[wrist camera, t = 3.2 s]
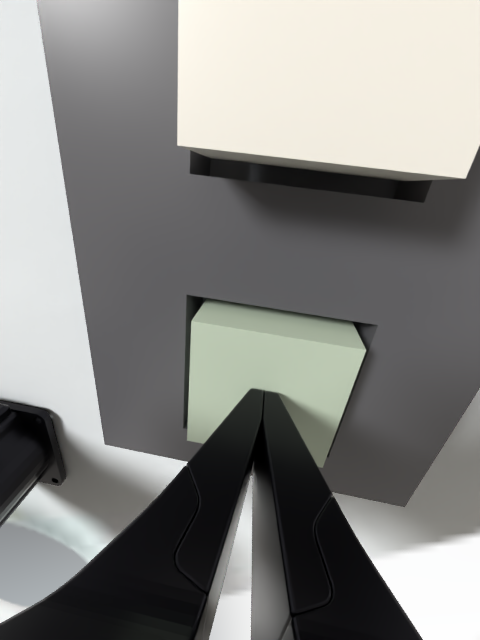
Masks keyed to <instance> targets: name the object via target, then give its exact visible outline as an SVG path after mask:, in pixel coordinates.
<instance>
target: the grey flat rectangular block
mask: <svg viewBox="0 0 480 640" xmlns="http://www.w3.org/2000/svg"><path fill="white" fill-rule="evenodd" d="M37 6H38V13H39V19H40V26H41V32H42V39H43V45H44V52H45V58H46V65H47V71H48V78H49V84H50V91H51V97H52V104H53V110H54V117H55V123H56V130H57V136H58V143H59V149H60V156H61V162H62V169H63V175H64V182H65V188H66V195H67V202H68V208H69V215H70V221H71V228H72V234H73V241H74V247H75V254H76V260H77V267H78V273H79V280H80V286H81V293H82V299H83V306H84V312H85V319H86V325H87V332H88V338H89V345H90V351H91V358H92V364H93V371H94V377H95V384H96V390H97V397H98V403H99V410H100V416H101V423H102V429H103V436H104V442H105V445H110V446H115V447H120V448H125V449H129V450H134V451H139V452H144V453H149V454H153V455H158V456H163V457H168V458H173V459H177V460H182V461H187V462H189V461H190V459H191V458H192V457H193V456H194V455H195V454H196V452H197V451H198V450H199V449H200V448H201V446H202V445H203V444H202V443H197V442H192V441H187V428H188V400H189V373H190V345H191V321H192V319H193V318H194V316H195V315H196V314H197V312H198V311H199V309H200V308H201V306H202V305H203V303H204V302H205V301H206V299H207V298H211V299H217V300H224V301H230V302H236V303H242V304H249V305H255V306H261V307H268V308H274V309H280V310H286V311H293V312H299V313H305V314H312V315H318V316H324V317H330V318H337V319H343V320H349V321H352V322H353V324H354V326H355V328H356V330H357V333H358V335H359V337H360V339H361V341H362V343H363V345H364V347H365V349H366V352H365V355H364V358H363V360H362V363H361V366H360V368H359V371H358V374H357V377H356V379H355V382H354V385H353V387H352V390H351V393H350V395H349V398H348V401H347V404H346V406H345V409H344V412H343V414H342V417H341V420H340V422H339V425H338V428H337V431H336V433H335V436H334V439H333V441H332V444H331V447H330V449H329V452H328V455H327V458H326V460H325V463H324V466H323V468H321V467H318V468H319V470H320V472H321V474H322V475H323V477H324V479H325V481H326V483H327V485H328V487H329V488H330V490H331V492H335V493H340V494H345V495H350V496H355V497H359V498H364V499H369V500H374V501H379V502H383V503H388V504H393V505H398V506H403V507H405V506H406V504H407V502H408V501H409V499H410V498H411V496H412V494H413V493H414V491H415V490H416V488H417V487H418V485H419V483H420V482H421V480H422V479H423V477H424V475H425V474H426V472H427V471H428V469H429V468H430V466H431V464H432V463H433V461H434V460H435V458H436V456H437V455H438V453H439V452H440V450H441V449H442V447H443V445H444V444H445V442H446V441H447V439H448V437H449V436H450V434H451V433H452V431H453V430H454V428H455V426H456V425H457V423H458V422H459V420H460V418H461V417H462V415H463V414H464V412H465V410H466V409H467V407H468V406H469V404H470V403H471V401H472V399H473V398H474V396H475V395H476V393H477V391H478V390H479V388H480V146H479V148H478V150H477V153H476V155H475V158H474V160H473V162H472V165H471V167H470V169H469V172H468V174H467V177H466V179H445V180H420V181H399V180H390V179H382V178H373V177H365V176H356V175H348V174H339V173H331V172H322V171H314V170H305V169H297V168H288V167H280V166H272V165H263V164H255V163H246V162H238V161H229V160H221V159H212V158H209V157H207V156H204V155H201V154H199V153H196V152H193V151H191V150H188V149H185V148H183V147H180V146H177V112H178V0H37ZM253 464H254V462H253ZM251 475H253V467H252V472H251Z"/></svg>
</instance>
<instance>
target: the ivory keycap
mask: <svg viewBox="0 0 480 640" xmlns="http://www.w3.org/2000/svg"><path fill="white" fill-rule="evenodd" d="M177 146H180V147H183V148H185V149H188V150H191V151H193V152H196V153H199V154H201V155H204V156H207V157H209V158H212V159H221V160H229V161H238V162H246V163H255V164H263V165H272V166H280V167H288V168H297V169H305V170H314V171H322V172H331V173H339V174H348V175H356V176H365V177H373V178H382V179H390V180H399V181H420V180H445V179H466V177H467V174H468V172H469V169H470V167H471V165H472V162H473V160H474V158H475V155H476V153H477V150H478V148H479V146H480V0H178V112H177Z"/></svg>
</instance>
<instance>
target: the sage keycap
mask: <svg viewBox="0 0 480 640" xmlns="http://www.w3.org/2000/svg"><path fill="white" fill-rule="evenodd" d="M365 352H366V349H365V347H364V345H363V343H362V341H361V339H360V337H359V335H358V333H357V330H356V328H355V326H354V324H353V322H352V321H349V320H343V319H337V318H330V317H324V316H318V315H312V314H305V313H299V312H293V311H286V310H280V309H274V308H268V307H261V306H255V305H249V304H242V303H236V302H230V301H224V300H217V299H211V298H207V299H206V301H205V302H204V303H203V305H202V306H201V308H200V309H199V311H198V312H197V314H196V315H195V316H194V318H193V319H192V321H191V345H190V373H189V400H188V428H187V441H192V442H197V443H202V444H204V443H205V442H206V440H207V439H208V438H209V437H210V436H211V434H212V433H213V432H214V431H215V430H216V429H217V427H218V426H219V425H220V424H221V423H222V421H223V420H224V419H225V418H226V417H227V415H228V414H229V413H230V412H231V411H232V409H233V408H234V407H235V406H236V405H237V404H238V402H239V401H240V400H241V399H242V398H243V396H244V395H245V394H246V393H247V392H248V390H249V389H251V388H254V389H260V390H263V391H264V392H265V391H271V392H276V393H278V394H279V395H280V397H281V399H282V401H283V403H284V405H285V406H286V408H287V410H288V412H289V414H290V416H291V418H292V420H293V421H294V423H295V425H296V427H297V429H298V431H299V433H300V434H301V436H302V438H303V440H304V442H305V444H306V446H307V447H308V449H309V451H310V453H311V455H312V457H313V459H314V461H315V462H316V464H317V466H318V467H321V468H323V466H324V463H325V460H326V458H327V455H328V452H329V449H330V447H331V444H332V441H333V439H334V436H335V433H336V431H337V428H338V425H339V422H340V420H341V417H342V414H343V412H344V409H345V406H346V404H347V401H348V398H349V395H350V393H351V390H352V387H353V385H354V382H355V379H356V377H357V374H358V371H359V368H360V366H361V363H362V360H363V358H364V355H365Z"/></svg>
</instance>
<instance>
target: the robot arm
mask: <svg viewBox="0 0 480 640" xmlns="http://www.w3.org/2000/svg"><path fill="white" fill-rule="evenodd" d="M253 462H254V464H253ZM252 467H253V504H252V594H251V640H423V639H422V638H421V636H420V635H419V633H418V632H417V630H416V629H415V627H414V625H413V624H412V622H411V621H410V619H409V618H408V616H407V615H406V613H405V612H404V610H403V609H402V607H401V606H400V604H399V603H398V601H397V600H396V598H395V596H394V595H393V593H392V592H391V590H390V589H389V587H388V586H387V584H386V583H385V581H384V580H383V578H382V577H381V575H380V574H379V572H378V571H377V569H376V567H375V566H374V564H373V563H372V561H371V560H370V558H369V556H368V555H367V553H366V552H365V550H364V548H363V547H362V545H361V544H360V542H359V540H358V539H357V537H356V535H355V534H354V532H353V530H352V528H351V527H350V525H349V523H348V521H347V520H346V518H345V516H344V514H343V513H342V511H341V509H340V507H339V505H338V503H337V501H336V499H335V498H334V497H332V492H331V490H330V488H329V487H328V485H327V483H326V481H325V479H324V477H323V475H322V474H321V472H320V470H319V468H318V466H317V464H316V462H315V461H314V459H313V457H312V455H311V453H310V451H309V449H308V447H307V446H306V444H305V442H304V440H303V438H302V436H301V434H300V433H299V431H298V429H297V427H296V425H295V423H294V421H293V420H292V418H291V416H290V414H289V412H288V410H287V408H286V406H285V405H284V403H283V401H282V399H281V397H280V395H279V394H278V393H276V392H271V391H265V392H264V391H263V390H260V389H254V388H251V389H249V390H248V392H247V393H246V394H245V395H244V396H243V398H242V399H241V400H240V401H239V402H238V404H237V405H236V406H235V407H234V408H233V409H232V411H231V412H230V413H229V414H228V415H227V417H226V418H225V419H224V420H223V421H222V423H221V424H220V425H219V426H218V427H217V429H216V430H215V431H214V432H213V433H212V434H211V436H210V437H209V438H208V439H207V440H206V442H205V443H204V444H203V445H202V446H201V448H200V449H199V450H198V451H197V452H196V454H195V455H194V456H193V457H192V458H191V459H190V461H189V462H188V463H187V466H184V468H183V469H182V470H181V471H180V472H179V473H178V475H177V476H176V477H175V478H174V479H173V480H172V482H171V483H170V484H169V485H168V486H167V487H166V488H165V489H164V490H163V492H162V493H161V494H160V495H159V496H158V497H157V498H156V499H155V500H154V501H153V502H152V503H151V504H150V505H149V506H148V507H147V508H146V509H145V510H144V511H143V512H142V513H141V514H140V515H139V516H138V517H137V518H136V519H135V520H133V521H132V522H131V523H130V524H129V525H128V526H127V527H126V528H125V529H124V530H123V531H122V532H121V533H120V534H119V535H118V536H117V537H116V538H114V539H113V540H112V541H111V542H110V543H109V544H108V545H107V546H106V547H105V548H104V549H103V550H102V551H101V552H100V553H99V554H98V555H96V556H95V557H94V558H93V559H92V560H91V561H90V562H89V563H88V564H87V565H86V566H85V567H84V568H83V569H82V570H80V571H79V572H78V573H77V574H76V575H75V576H74V577H73V578H71V579H70V580H69V581H68V582H66V583H65V584H64V585H63V586H61V587H60V588H59V589H57V590H56V591H55V592H53V593H52V594H50V595H49V596H47V597H46V598H44V599H43V600H41V601H40V602H38V603H36V604H34V605H32V606H31V607H29V608H27V609H25V610H23V611H22V612H20V613H18V614H16V615H14V616H13V617H11V618H9V619H7V620H5V621H4V622H2V623H0V640H209V636H210V632H211V629H212V624H213V621H214V616H215V613H216V609H217V605H218V601H219V597H220V593H221V589H222V586H223V582H224V578H225V574H226V570H227V566H228V562H229V558H230V554H231V550H232V546H233V543H234V539H235V535H236V531H237V527H238V523H239V519H240V515H241V511H242V507H243V503H244V500H245V496H246V492H247V488H248V484H249V480H250V476H251V472H252ZM65 479H66V474H65V470H64V466H63V463H62V459H61V455H60V451H59V447H58V444H57V440H56V436H55V432H54V428H53V425H52V421H51V417H50V415H49V413H48V412H46V411H45V410H43V409H39V408H34V407H29V406H24V405H20V404H15V403H10V402H5V401H0V527H1V526H2V525H3V524H4V523H5V521H6V520H7V519H8V518H9V517H10V515H11V514H12V513H13V512H14V511H15V509H16V508H17V507H18V506H19V505H20V503H21V502H22V501H23V500H24V499H25V497H26V496H27V495H28V494H29V492H30V491H31V490H32V489H33V488H34V486H35V485H36V484H37V483H38V482H43V483H48V484H52V485H57V486H59V485H61V484H62V483H63V482H64V481H65Z"/></svg>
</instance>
